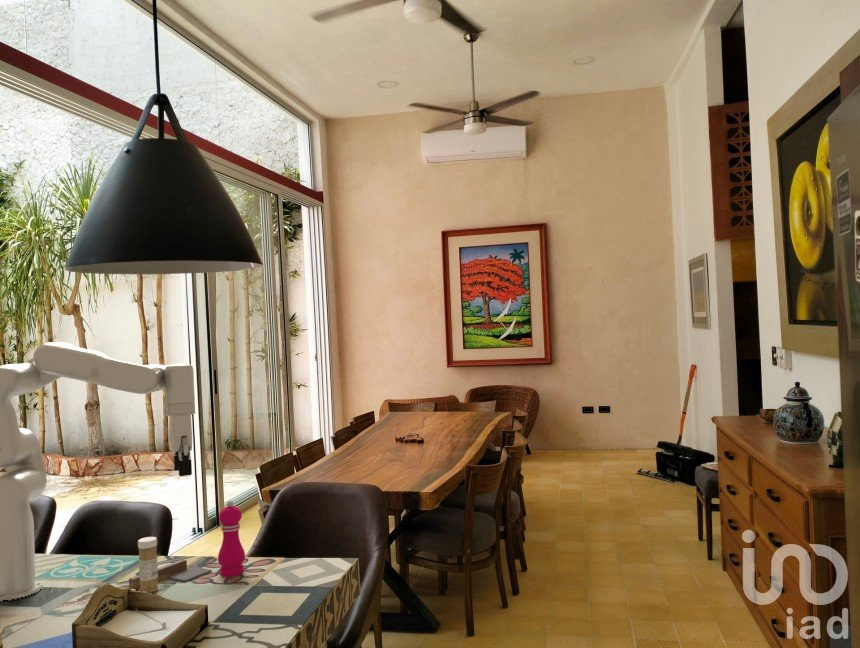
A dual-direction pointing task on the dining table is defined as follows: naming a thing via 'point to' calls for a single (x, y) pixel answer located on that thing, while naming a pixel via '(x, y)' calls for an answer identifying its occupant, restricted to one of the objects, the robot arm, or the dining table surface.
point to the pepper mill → (231, 542)
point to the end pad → (189, 574)
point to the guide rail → (161, 573)
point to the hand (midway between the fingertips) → (183, 472)
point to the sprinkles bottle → (148, 564)
